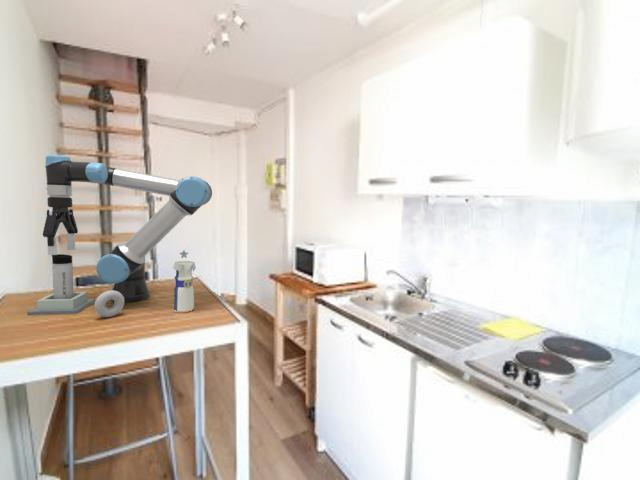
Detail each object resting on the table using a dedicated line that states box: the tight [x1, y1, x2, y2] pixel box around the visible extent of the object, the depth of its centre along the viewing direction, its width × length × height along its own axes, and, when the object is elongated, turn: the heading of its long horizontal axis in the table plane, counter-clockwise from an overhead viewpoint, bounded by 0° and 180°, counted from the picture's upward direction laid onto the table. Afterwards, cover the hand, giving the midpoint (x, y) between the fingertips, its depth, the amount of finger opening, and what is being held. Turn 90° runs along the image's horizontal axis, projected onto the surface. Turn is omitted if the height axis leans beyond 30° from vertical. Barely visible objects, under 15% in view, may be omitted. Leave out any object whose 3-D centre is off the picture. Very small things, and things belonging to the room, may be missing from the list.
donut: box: [93, 289, 126, 318], centre depth 125 cm, size 10×4×10 cm, turn 143°
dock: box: [27, 291, 96, 316], centre depth 134 cm, size 16×16×5 cm
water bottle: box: [172, 249, 196, 311], centre depth 136 cm, size 8×8×25 cm
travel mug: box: [51, 253, 74, 299], centre depth 133 cm, size 6×7×20 cm
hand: (62, 252), depth 132 cm, fingers open, 13 cm apart
